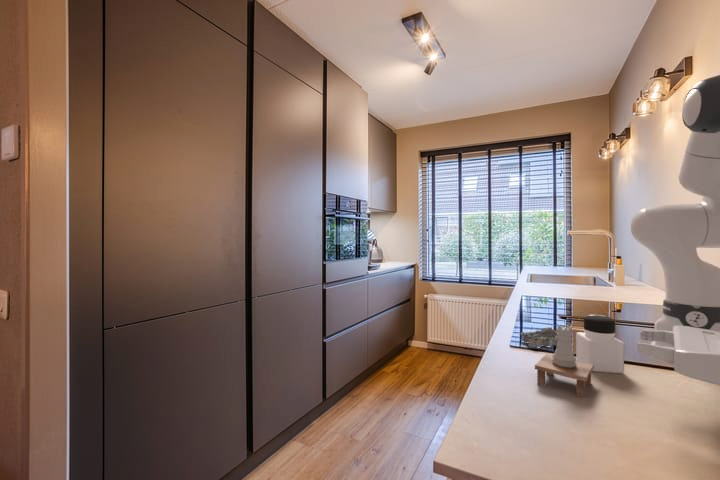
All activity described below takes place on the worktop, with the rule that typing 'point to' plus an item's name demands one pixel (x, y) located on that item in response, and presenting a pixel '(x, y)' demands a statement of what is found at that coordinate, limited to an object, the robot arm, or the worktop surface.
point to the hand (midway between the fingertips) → (639, 340)
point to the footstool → (565, 372)
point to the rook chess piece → (564, 348)
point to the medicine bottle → (600, 345)
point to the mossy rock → (541, 337)
